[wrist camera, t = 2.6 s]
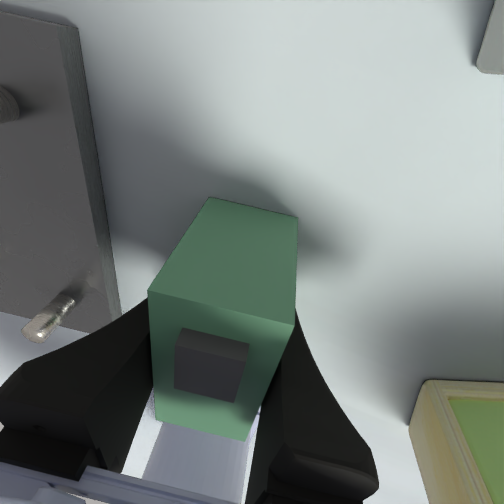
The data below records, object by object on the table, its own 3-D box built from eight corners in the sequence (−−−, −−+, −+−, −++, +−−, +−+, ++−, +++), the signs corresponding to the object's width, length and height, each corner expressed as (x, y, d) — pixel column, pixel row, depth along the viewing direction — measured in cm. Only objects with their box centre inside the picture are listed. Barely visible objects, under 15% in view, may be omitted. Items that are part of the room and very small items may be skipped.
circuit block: (261, 330, 17) (242, 458, 12) (197, 315, 17) (149, 434, 12) (298, 217, 12) (294, 344, 7) (209, 196, 12) (136, 306, 7)
